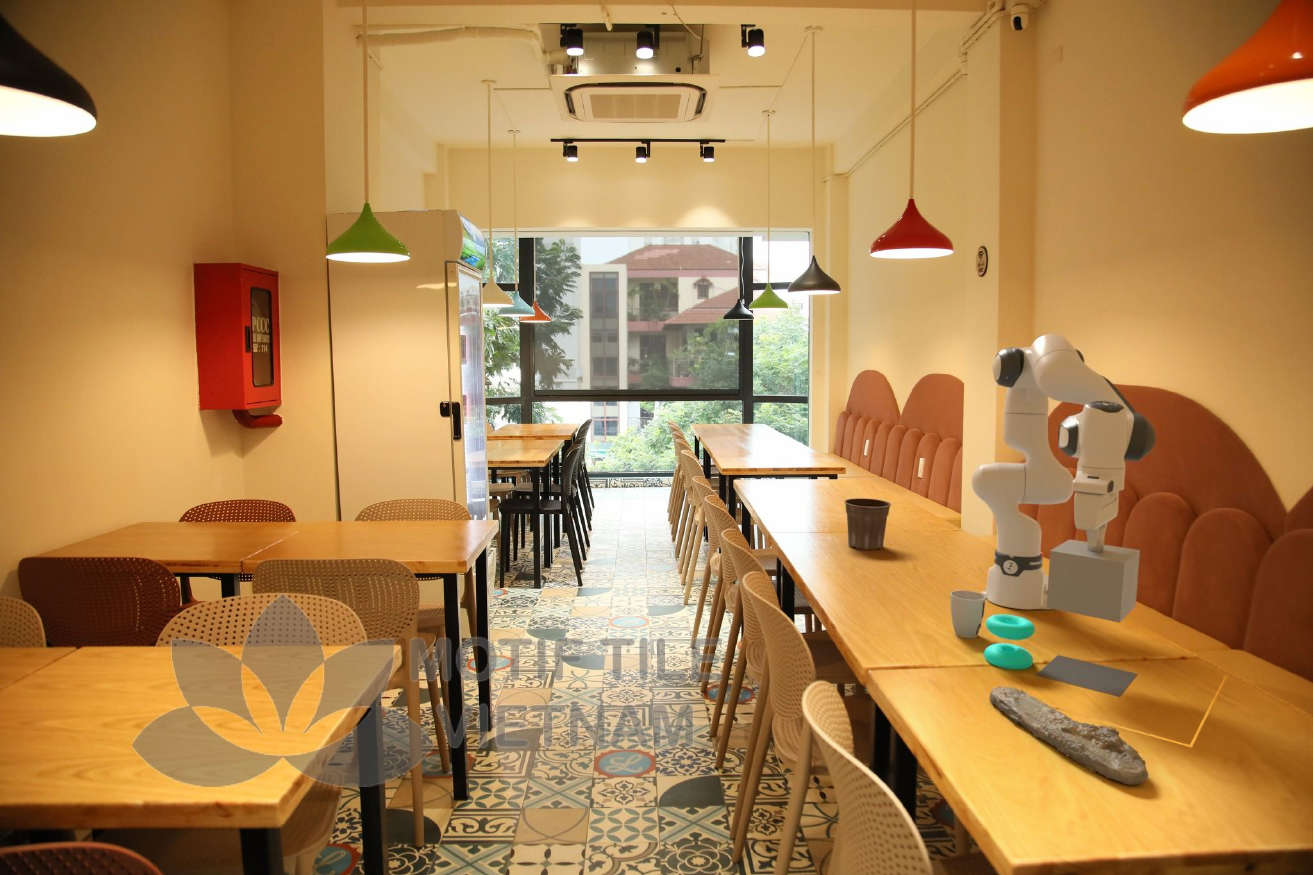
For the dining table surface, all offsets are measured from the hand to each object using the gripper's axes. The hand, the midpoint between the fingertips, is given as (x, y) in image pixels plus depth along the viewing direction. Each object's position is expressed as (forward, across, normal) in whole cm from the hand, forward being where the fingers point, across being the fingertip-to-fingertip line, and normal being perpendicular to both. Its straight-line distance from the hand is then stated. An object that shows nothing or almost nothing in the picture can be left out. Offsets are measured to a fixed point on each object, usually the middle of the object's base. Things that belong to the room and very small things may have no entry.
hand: (1095, 544), depth 169 cm
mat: (+29, 0, 0) cm, 29 cm away
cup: (+29, -8, -29) cm, 42 cm away
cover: (+14, 0, 0) cm, 14 cm away
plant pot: (+30, -75, -91) cm, 122 cm away
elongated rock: (+29, +34, +4) cm, 45 cm away
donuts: (+29, +4, -15) cm, 33 cm away
